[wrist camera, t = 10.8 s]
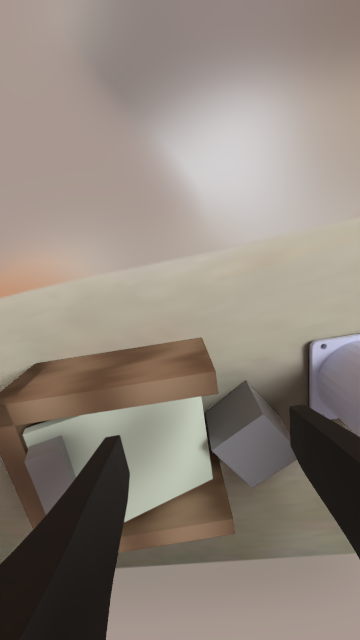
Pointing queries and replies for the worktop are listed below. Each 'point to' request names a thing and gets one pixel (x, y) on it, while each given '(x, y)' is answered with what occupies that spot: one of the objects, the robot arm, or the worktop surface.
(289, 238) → the worktop surface
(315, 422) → the robot arm
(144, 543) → the frame
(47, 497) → the trapdoor
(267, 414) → the grey cube
